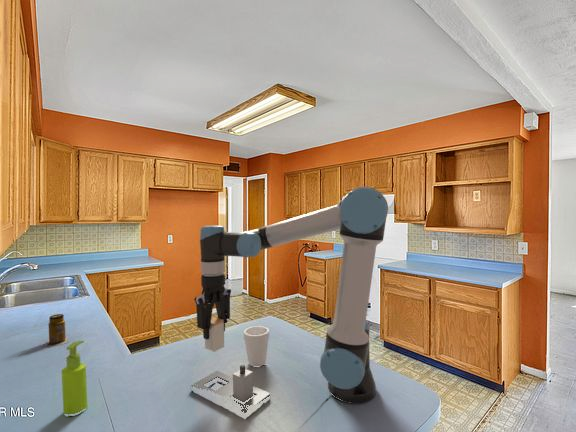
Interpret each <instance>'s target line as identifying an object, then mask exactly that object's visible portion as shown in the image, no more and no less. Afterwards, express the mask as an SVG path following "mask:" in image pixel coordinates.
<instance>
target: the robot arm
mask: <svg viewBox="0 0 576 432" xmlns="http://www.w3.org/2000/svg"><path fill="white" fill-rule="evenodd" d="M388 204H389V203H388V201H387V199H386V197H385V196H384V195H383V194H382V193H381V192H380V191H379V190H378V189H376V188H373V187H369V186H361V187H356V188H354V189H352V190H350V191H349V192H348V193H347V194H346V195H345V196H344V197H343V199H341V200H339V201H338V202H337V204H335V205H332V206H330V207H329V206H328V207H326V208H322V209H318V210H316V211H312V212H308V213H307V214H302V215H299V216H295V217H292V218H289V219H285V220H282V221H279V222H276V223H273V224H268V225H265V226H262V227H259V228H255V229H254V228H253V229H251V230H245V231H237V232H233V231H231V232H229V231H225V227H224V225H219V224H218V225H204V226H202V227H200V233H199V234H200V236H199V244H200V245H199V246H200V273H201V275H200V278H201V279H200V280H201V281H200V282H201V283H200V284H201V287H202V291H201V294H200V295H199V296H198V297H197V296H196V297H195V298H194V302H195V308H196V323H197V324H196V326H197V328H199V329H202V335H203V336H202V337H203V339H204V348H205V347H206V348H208V349H213V344H212V328H210V324H211V318H213V317H212V316H213V308H214V307H215V309H216V310H215V311H216V315H217V318H220V319H223V320H224V332H226V324H227V323H228V322H229V321H228V320H230V317H231V293H232V289H231V288H227V287H226V288H225V285H226V274H225V272H226V263H225V262H226V261H225V260H226V259H225V257H241V258H255V257H257V256H258V255H259V253H260V252H261V251H264V250H266V249H270V248H273V247H277V246H281V245H284V244H285V245H286V244H288V243H291V242H296V241H299V240H300V241H301V240H303V239H306V238H310V237H315V236H317V235H322V234H326V233H329V232H334V231H337V230H339V236H340V238H341V239H342V240H343V248H342V256H341V263H340V270H339V279H338V286H337V293H336V300H335V301H336V302H335V309H334V315H333V317H334V318H333V320H332V324H331V325H330V326H329V327H327V330H326V336H325V344H324V350H323V353H322V354H321V356H320V364H319V368H320V372H321V374H322V376H323V378H325V380H326V381H327V390H328V389H329V390H328V391H329V393H330V392H331V393H332V394H333V395H334V396H335V397H337V398H339V399H341V400H343V401H346V402H351V403H350V404H354V403H357V404H364V403H367V402H369V401H371V400H373V399H374V398H375V396H376V394H377V393H376V392H377V391H376V389H377V387H376V386H377V385H376V381H375V379H374V376H373V372H372V370H371V367H370V365H371V364H370V362H371V361H370V332H371V331H370V330H371V329H370V324H369V322H368V321H367V316H368V307H369V300H370V293H371V287H372V278H373V272H374V267H375V259H376V250H377V246H378V245H379V244H381V243H382V242H383V241H384V238H385V237H384V236H385V230H386V229H385V228H386V222H387V217H388V214H389V213H388V212H389V205H388ZM208 349H207V350H208ZM331 393H330V394H331ZM335 397H334V398H335ZM343 401H342V402H343ZM346 402H345V403H346Z"/></svg>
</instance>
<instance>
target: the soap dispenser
mask: <svg viewBox="0 0 576 432" xmlns="http://www.w3.org/2000/svg"><path fill="white" fill-rule="evenodd" d="M84 342H85V340H76V341H73V342H72V343H70V344H69V345H68V346H66V350H69V355H67V356H66V366H65V367H63V368H62V370H61V382H62V383H61V385H62V406H63V407H62V408H63V409H62V410H63V415H64V414H68V415H69V414H75V413H78V412H80V411H82V410H83V409H85V408H86V407H87V408H88V393H87V391H88V388H87V367H86V364H85V363H84V362H81V354H80V353H78V352H77V347H78V346H79V345H81V344H83V343H84Z"/></svg>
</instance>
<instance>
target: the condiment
mask: <svg viewBox="0 0 576 432" xmlns="http://www.w3.org/2000/svg"><path fill="white" fill-rule="evenodd" d="M68 343H69V342H68V338H67V335H66V320H65V315H64V314H63V313H57V314H51V315H50V316H49V321H48V340H47V341H46V344H47V348H51V347H56V346H60V345H63V344H64V345H65V344H68Z"/></svg>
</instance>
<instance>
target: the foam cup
mask: <svg viewBox="0 0 576 432" xmlns="http://www.w3.org/2000/svg"><path fill="white" fill-rule="evenodd" d="M269 339H270V329H269V328H268V327H266V326H263V325H255V326H249V327H247V328H246V329H244V331H243V340H244V342H245V343H244V344H245V348H246V349H245V351H246V356H247V361H248V365H249V364H250V365H252V366H262V365H264V364H265V363H266V364H267V357H268V356H267V355H268V346H269V345H268V344H269ZM250 365H249V366H250ZM262 367H263V366H262Z"/></svg>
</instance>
